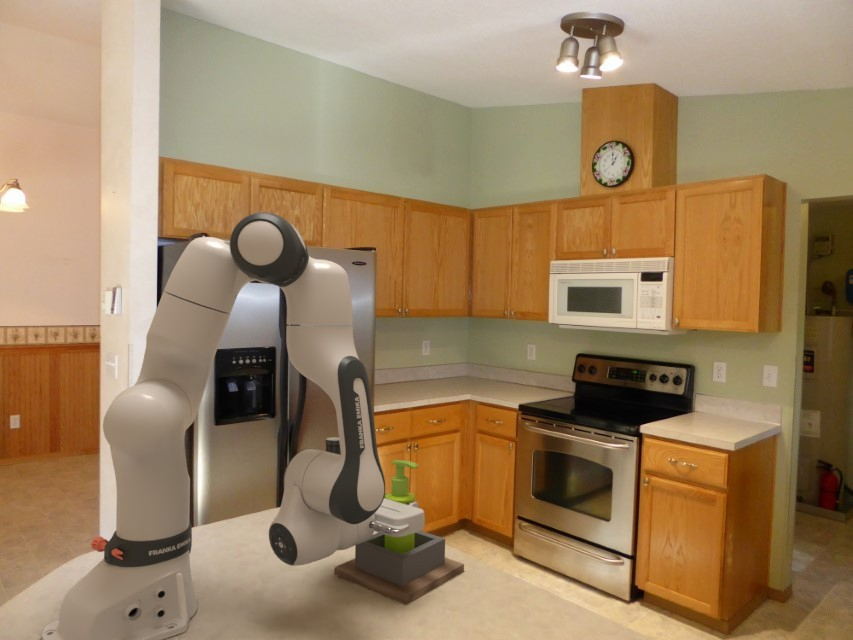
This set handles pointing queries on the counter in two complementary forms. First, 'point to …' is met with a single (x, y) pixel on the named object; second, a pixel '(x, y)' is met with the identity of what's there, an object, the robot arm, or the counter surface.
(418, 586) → the collar board
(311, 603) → the counter surface
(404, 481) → the soap dispenser
